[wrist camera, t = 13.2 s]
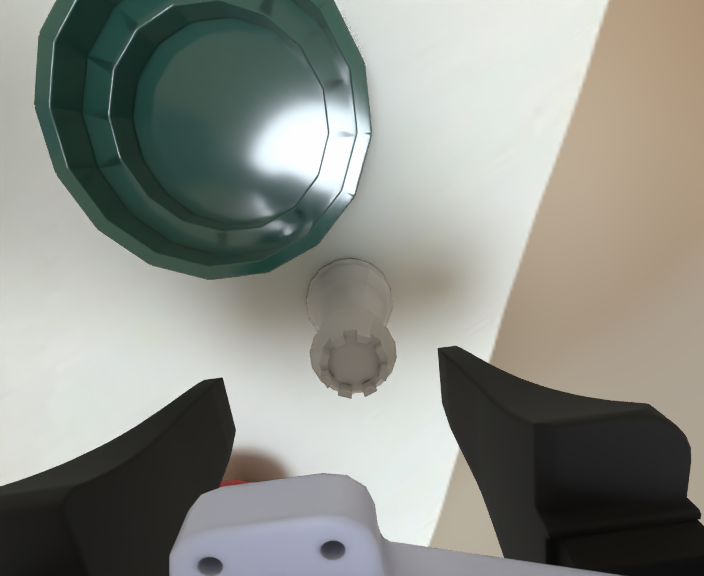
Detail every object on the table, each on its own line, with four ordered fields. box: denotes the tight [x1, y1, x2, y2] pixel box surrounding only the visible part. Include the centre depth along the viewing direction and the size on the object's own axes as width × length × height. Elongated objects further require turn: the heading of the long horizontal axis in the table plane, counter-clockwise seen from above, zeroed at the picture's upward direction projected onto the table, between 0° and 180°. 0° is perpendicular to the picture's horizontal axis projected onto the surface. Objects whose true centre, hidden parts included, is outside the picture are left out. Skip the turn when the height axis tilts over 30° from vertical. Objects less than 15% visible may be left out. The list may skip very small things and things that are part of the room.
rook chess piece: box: [307, 259, 397, 398], centre depth 19 cm, size 4×4×8 cm
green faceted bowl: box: [34, 0, 372, 280], centre depth 18 cm, size 12×12×4 cm
